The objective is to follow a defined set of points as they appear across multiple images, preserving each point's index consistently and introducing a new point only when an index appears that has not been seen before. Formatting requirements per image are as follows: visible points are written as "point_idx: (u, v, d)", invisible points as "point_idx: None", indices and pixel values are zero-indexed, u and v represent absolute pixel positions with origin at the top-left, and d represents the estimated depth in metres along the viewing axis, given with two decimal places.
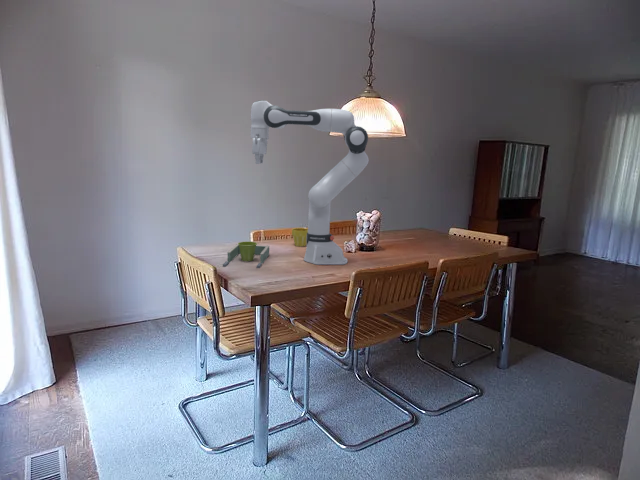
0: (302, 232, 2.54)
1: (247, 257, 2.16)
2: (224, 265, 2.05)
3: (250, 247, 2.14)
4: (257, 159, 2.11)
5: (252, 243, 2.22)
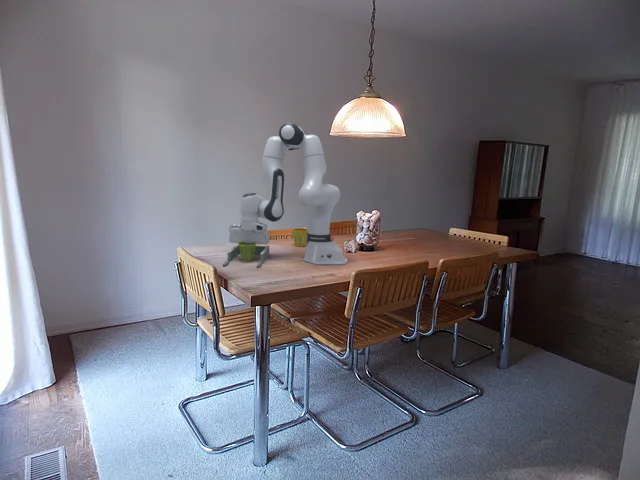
0: (302, 232, 2.54)
1: (247, 257, 2.16)
2: (224, 265, 2.05)
3: (249, 247, 2.14)
4: None
5: None
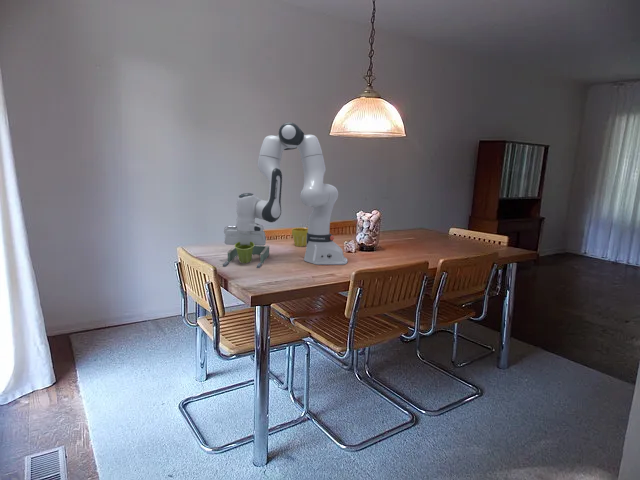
0: (302, 232, 2.54)
1: (245, 259, 2.11)
2: (224, 265, 2.05)
3: (248, 250, 2.09)
4: None
5: None
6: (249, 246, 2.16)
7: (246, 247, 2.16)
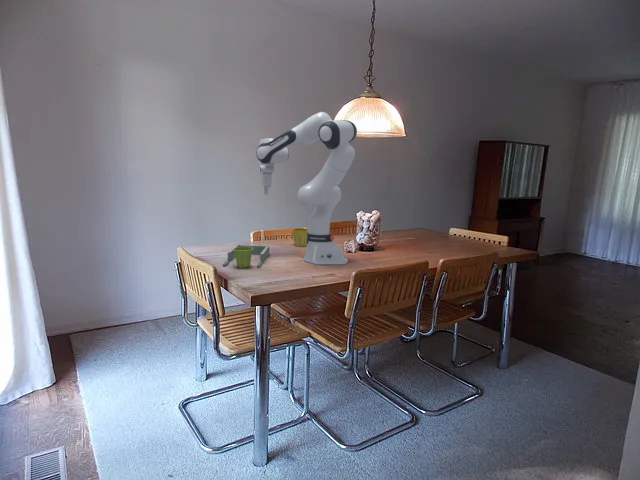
0: (302, 232, 2.54)
1: (243, 263, 2.03)
2: (224, 265, 2.05)
3: (246, 252, 2.02)
4: None
5: (248, 248, 2.09)
6: None
7: None
